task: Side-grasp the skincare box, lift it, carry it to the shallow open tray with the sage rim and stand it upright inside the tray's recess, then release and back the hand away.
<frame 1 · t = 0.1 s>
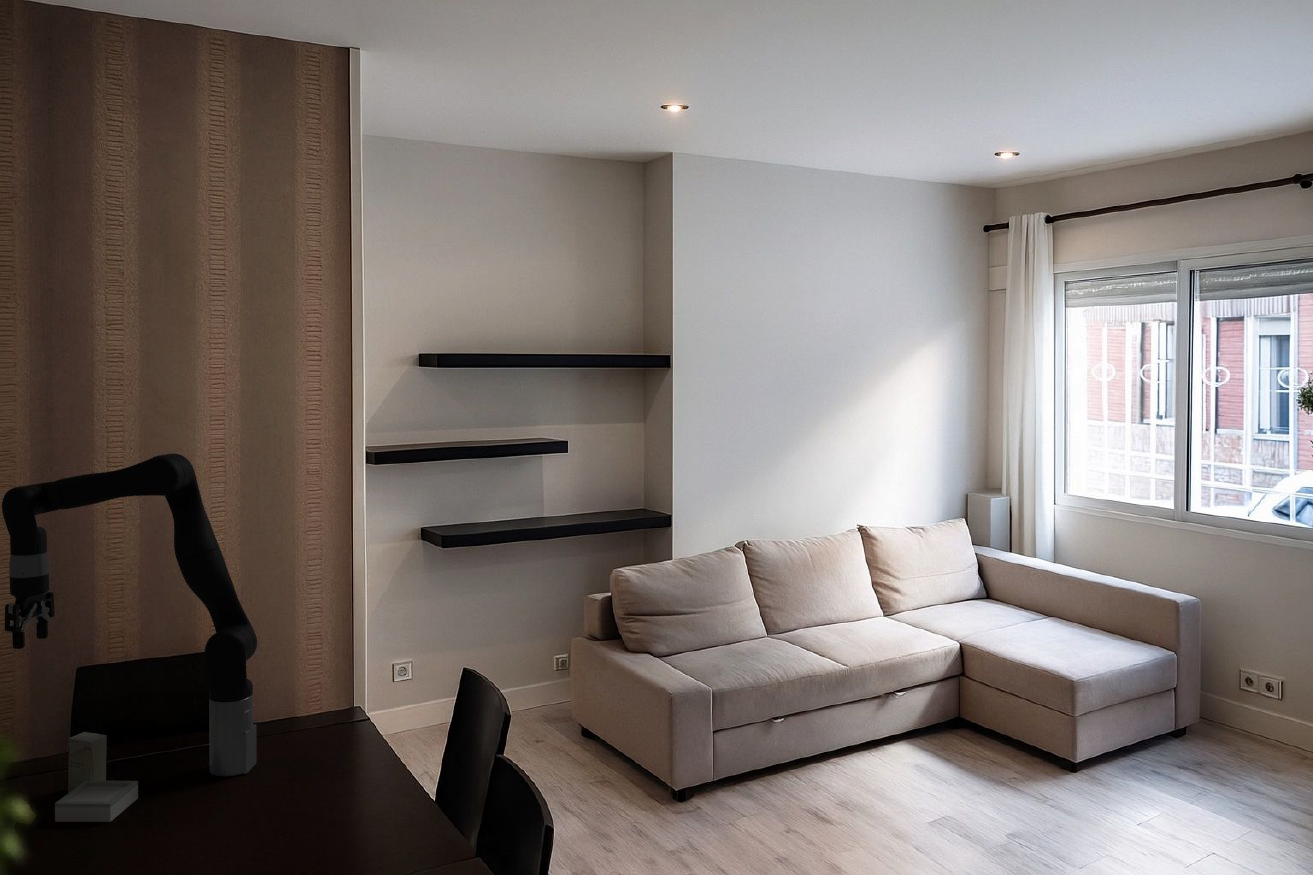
hand: (30, 643, 216), 29 cm above the table, tool pointing down, fingers open, 8 cm apart
shallow open tray: (97, 809, 197), on the table
skincare box: (87, 791, 206), on the table
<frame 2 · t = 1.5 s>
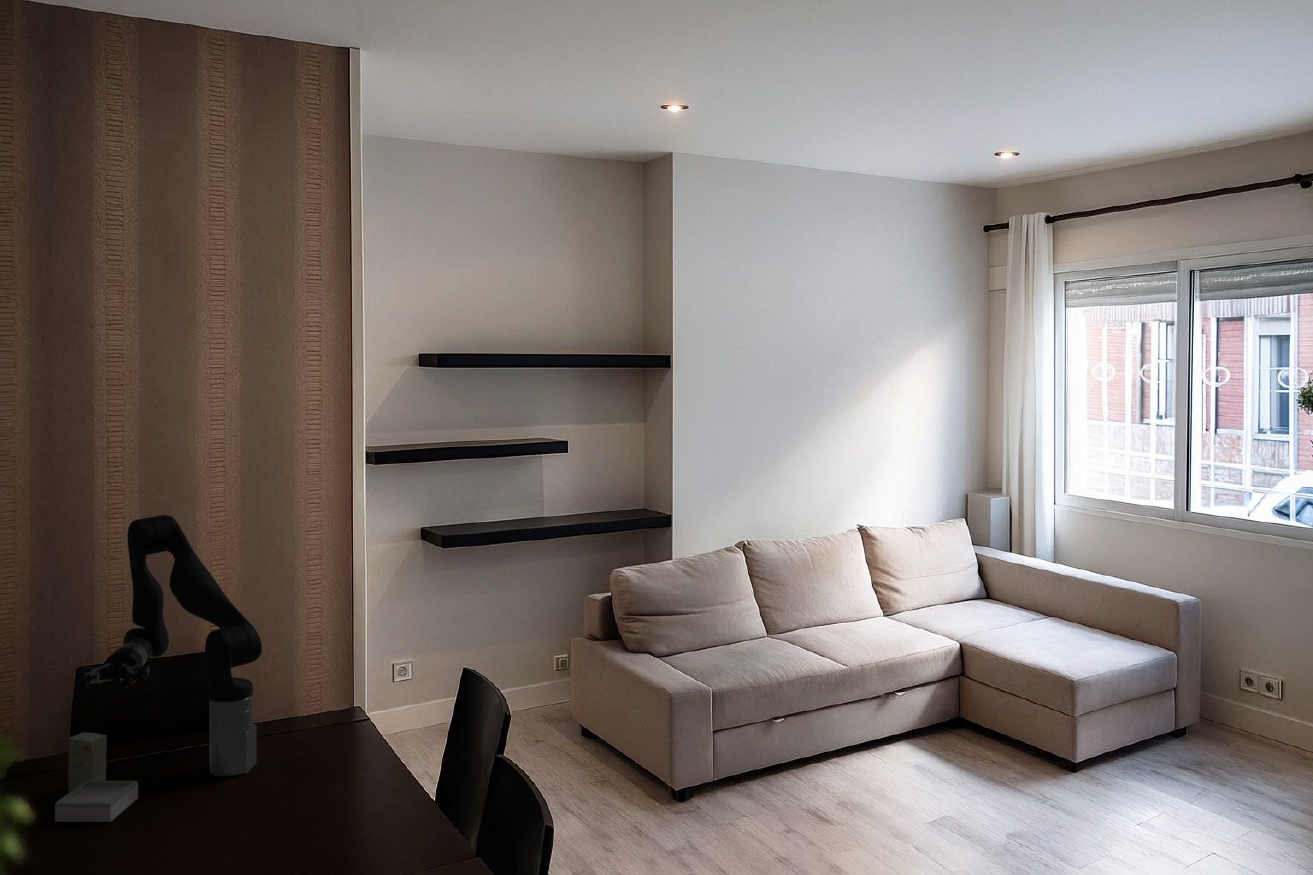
hand: (104, 684, 215), 20 cm above the table, tool horizontal, fingers open, 8 cm apart
nothing on the table moved.
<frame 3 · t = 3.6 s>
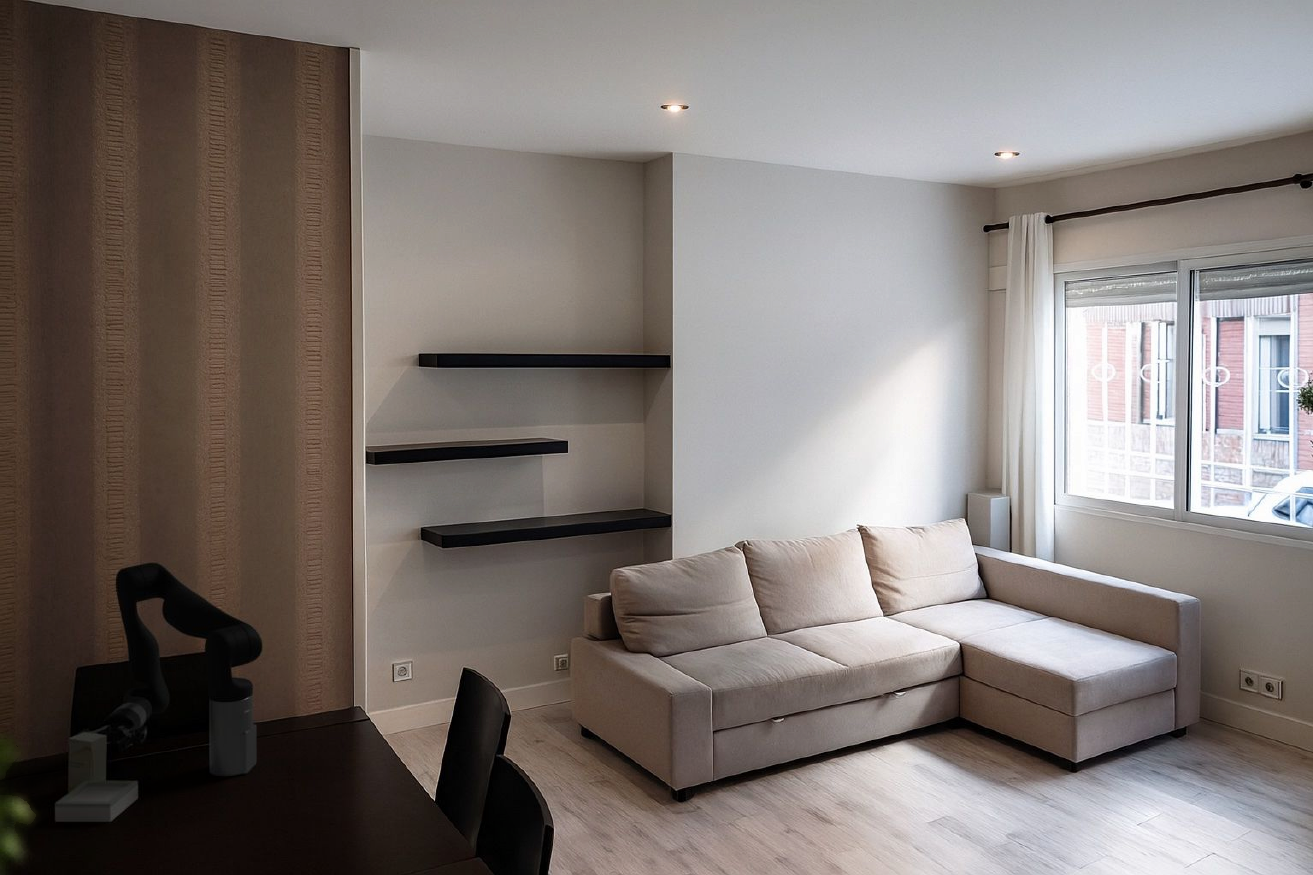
hand: (99, 748, 213), 7 cm above the table, tool horizontal, fingers open, 8 cm apart
nothing on the table moved.
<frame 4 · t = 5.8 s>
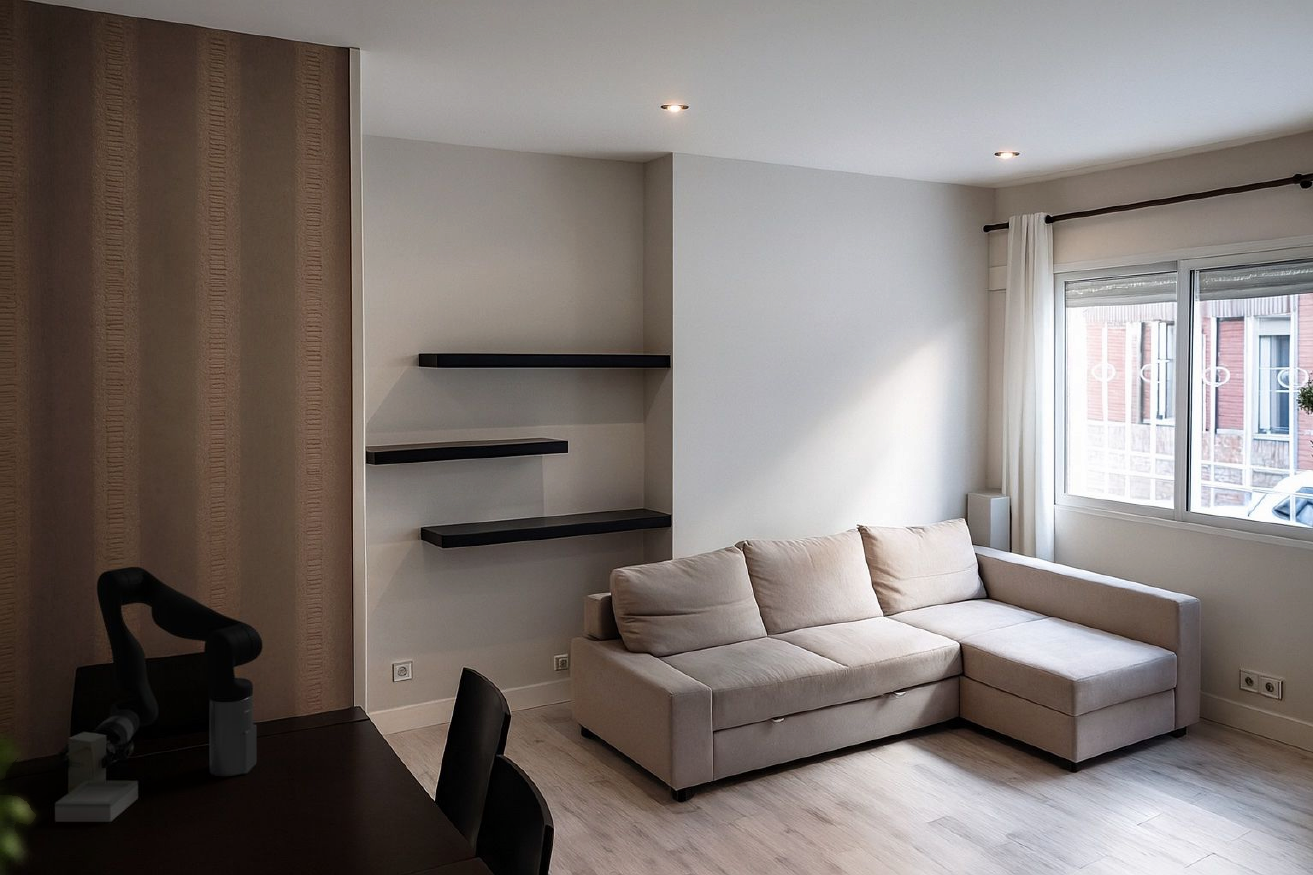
hand: (83, 765, 204), 7 cm above the table, tool horizontal, fingers closed on skincare box, 7 cm apart
skincare box: (87, 791, 206), on the table, touching gripper
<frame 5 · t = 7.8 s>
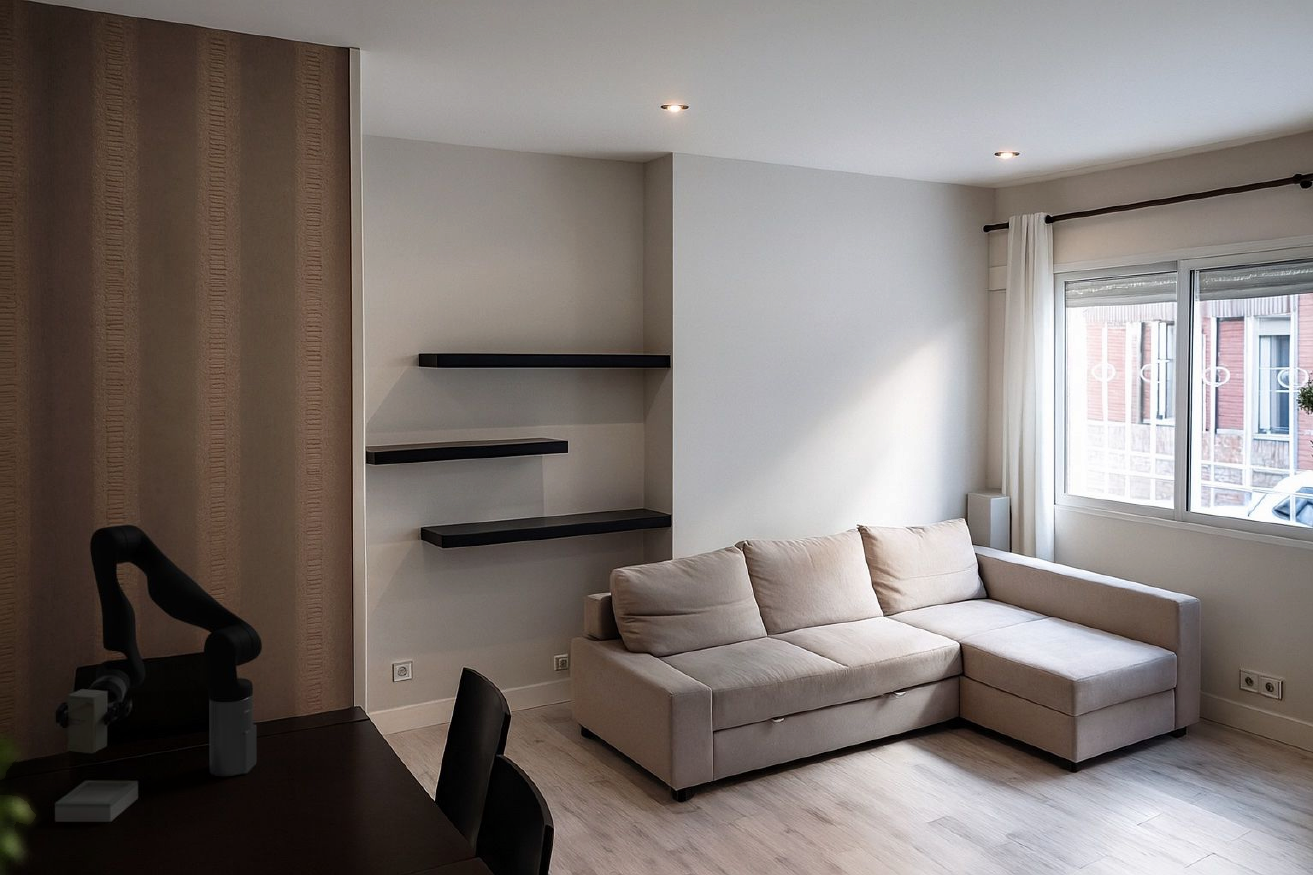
hand: (85, 722, 199), 18 cm above the table, tool horizontal, fingers closed on skincare box, 7 cm apart
skincare box: (88, 749, 201), point 11 cm above the table, touching gripper
when the fingers open (10 cm above the table, at t = 10.1 s): skincare box stays where it is, resting on shallow open tray.
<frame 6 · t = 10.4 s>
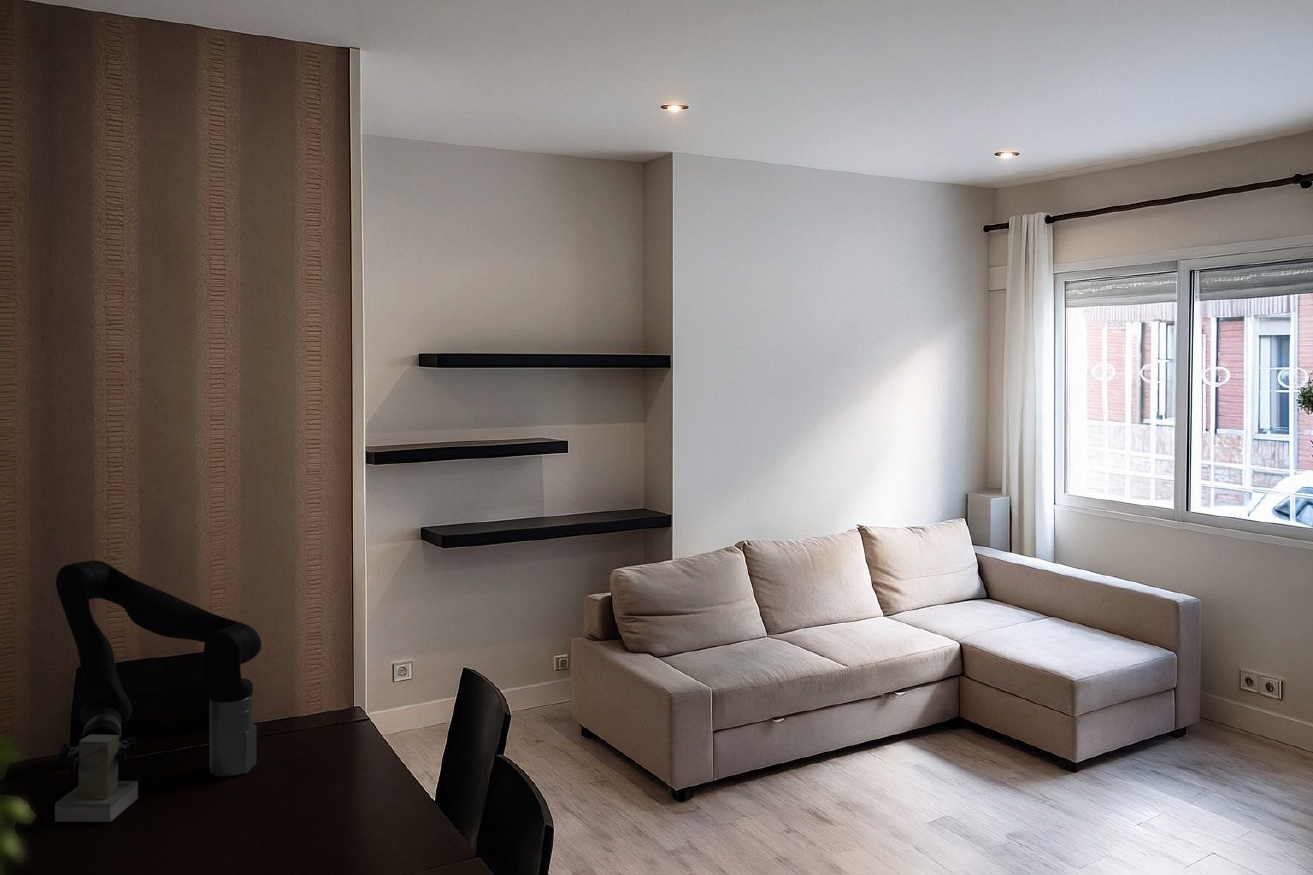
hand: (96, 763, 195), 11 cm above the table, tool horizontal, fingers open, 8 cm apart
skincare box: (98, 795, 198), point 3 cm above the table, touching shallow open tray, gripper
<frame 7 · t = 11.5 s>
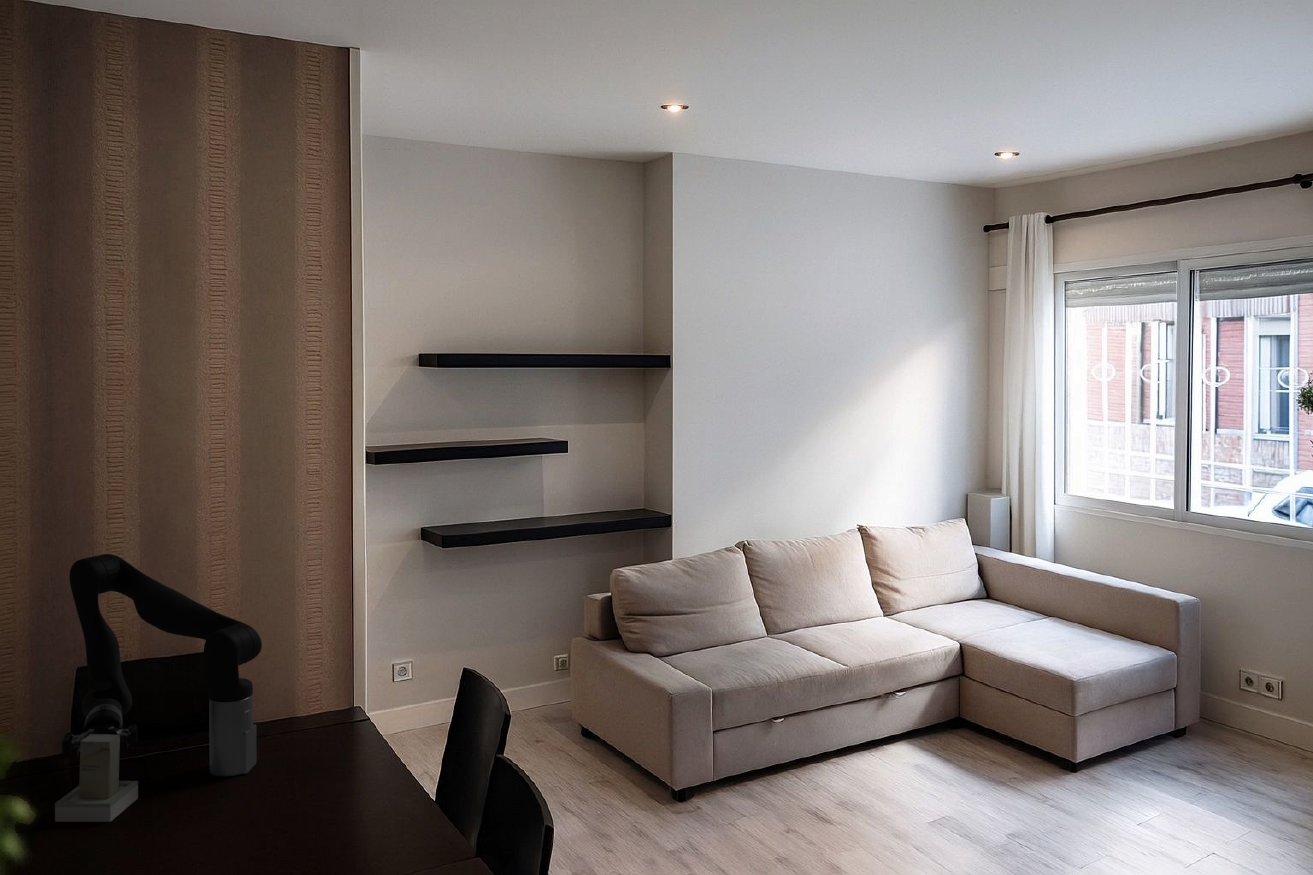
hand: (99, 750, 202), 11 cm above the table, tool horizontal, fingers open, 8 cm apart
skincare box: (99, 795, 198), point 3 cm above the table, touching shallow open tray
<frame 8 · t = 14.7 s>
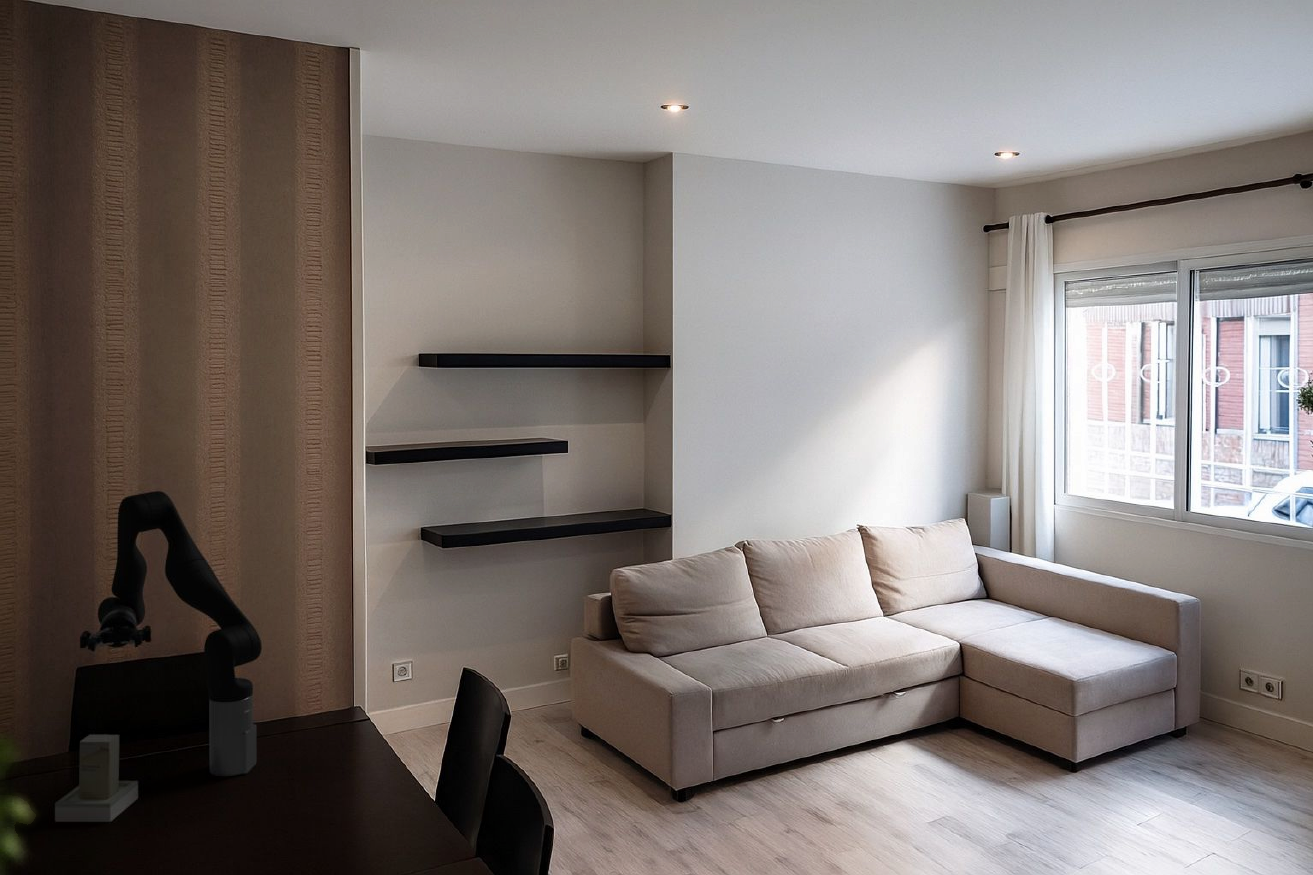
hand: (114, 644, 213), 30 cm above the table, tool horizontal, fingers open, 8 cm apart
nothing on the table moved.
at the end: skincare box inside the target area on the shallow open tray (0.4 cm from its centre), point 2.8 cm above the shallow open tray's base; skincare box tilted 0°; the gripper is holding nothing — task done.
